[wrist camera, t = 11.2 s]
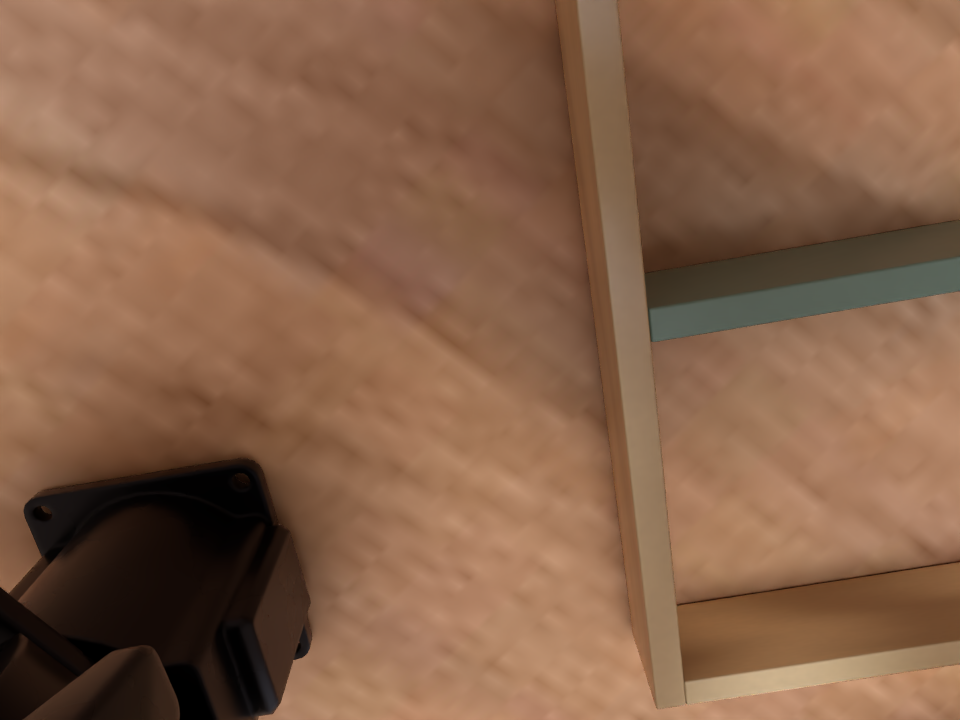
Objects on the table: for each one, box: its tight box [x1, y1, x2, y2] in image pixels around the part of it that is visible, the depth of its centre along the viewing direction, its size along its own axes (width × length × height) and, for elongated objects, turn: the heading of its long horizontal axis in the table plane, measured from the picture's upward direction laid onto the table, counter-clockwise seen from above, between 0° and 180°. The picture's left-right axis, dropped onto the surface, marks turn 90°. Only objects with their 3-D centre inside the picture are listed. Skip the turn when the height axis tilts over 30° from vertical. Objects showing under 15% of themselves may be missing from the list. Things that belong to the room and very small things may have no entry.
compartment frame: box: [555, 0, 960, 709], centre depth 17 cm, size 15×21×3 cm
